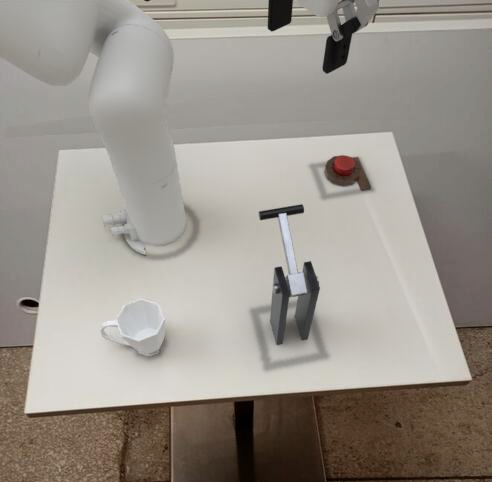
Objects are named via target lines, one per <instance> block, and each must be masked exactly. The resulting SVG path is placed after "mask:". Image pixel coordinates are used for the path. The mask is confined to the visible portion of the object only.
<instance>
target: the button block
mask: <svg viewBox="0 0 492 482" xmlns="http://www.w3.org/2000/svg"><path fill="white" fill-rule="evenodd" d="M343 155H344V154H341V155H334V156H333V157H331V158H329V159H327V161H326V164H325V167H324V171H323V172H324V175H325V178H326V180H327V181H328V182H330V183H331V184H333V185H335V186H339V187H349V186H353V185H354V184H355V183H357V185H358V187H359V188H358V189H359V190H360V191H361V192H364V191H365V192H366V191H371V189H372V185H371V182H370V181H369V178H368V176H367V174H366V172H365V169H364V167H363V165H362V163H361V161H360V158H359V156H355V157H352V156H350V157H351V158H352V159H353V160H354V162H355V164H354V168H353V172H352V174H351V175H349V176H345V177H343V176H339V175H337V174H336V173H335V172H334V169H333V168H334V163H335V160H336V158H337V157H339V156H343Z"/></svg>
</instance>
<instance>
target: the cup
mask: <svg viewBox="0 0 492 482" xmlns="http://www.w3.org/2000/svg"><path fill="white" fill-rule="evenodd" d="M100 326H101V327H100V334H101V337H102V338H103V339H105V340H106V341H109V342H111V343H115V344H119V345H123V346H128V347H132V348H133V349H135V350H136V351H138V354H140V355H143V356H145V357H148V358H150V357H152V356H155V355H157V354H160V352H161V346H162V344H163V342H164V341H165V336H166V318H165V314H164V313H163V310H162V307H161V305H160V303H158V302H155V301H153V300H149V299H146V298H144V297H141V298H139V299H136V300H133V301H130V302H127V303H125V304H123V306H122V308H121V309H120V311H119V313H118V315H117V317H116V318H115V319H114V320H106V321H104V322H103V323H101V325H100ZM108 327H112V328H113V327H114V328H118V330H119V333H120V336H121V337H122V338H120V337H116V336H113V335H111V334H108V333H107V332H106V331H105V329H106V328H108Z"/></svg>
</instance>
